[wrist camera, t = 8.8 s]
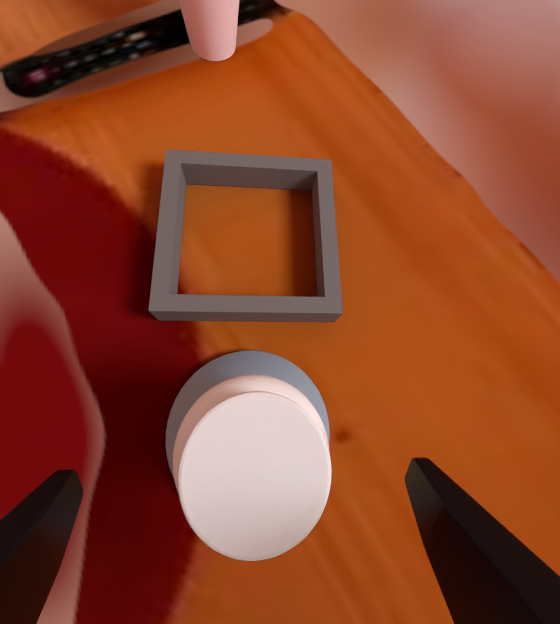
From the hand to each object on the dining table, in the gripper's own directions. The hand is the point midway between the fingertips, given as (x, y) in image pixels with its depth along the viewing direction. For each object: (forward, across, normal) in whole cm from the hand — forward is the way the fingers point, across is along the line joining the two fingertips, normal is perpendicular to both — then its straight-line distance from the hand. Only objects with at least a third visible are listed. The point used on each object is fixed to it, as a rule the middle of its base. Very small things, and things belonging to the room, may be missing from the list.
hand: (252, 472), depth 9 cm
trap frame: (+16, 0, -2) cm, 16 cm away
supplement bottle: (+7, 0, +6) cm, 9 cm away
